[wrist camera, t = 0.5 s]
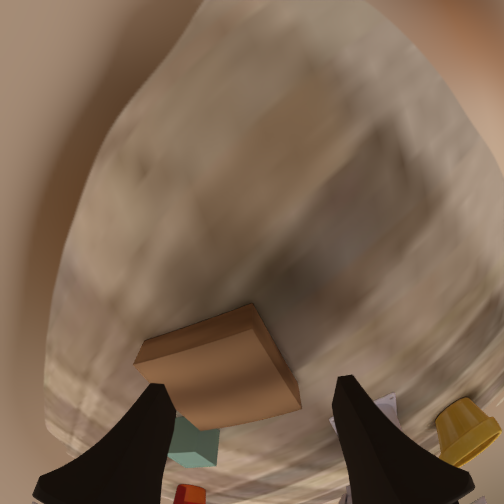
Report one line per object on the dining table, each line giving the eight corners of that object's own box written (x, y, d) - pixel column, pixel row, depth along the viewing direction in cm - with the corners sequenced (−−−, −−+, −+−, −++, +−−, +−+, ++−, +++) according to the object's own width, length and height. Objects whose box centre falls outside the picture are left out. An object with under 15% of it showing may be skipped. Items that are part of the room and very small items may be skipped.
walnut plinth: (298, 383, 23) (301, 408, 20) (204, 407, 24) (200, 430, 21) (252, 303, 19) (252, 328, 16) (144, 340, 21) (133, 364, 18)
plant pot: (469, 410, 29) (490, 447, 20) (421, 437, 30) (438, 480, 21) (483, 377, 25) (511, 420, 16) (429, 410, 27) (453, 461, 18)
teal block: (219, 430, 26) (216, 466, 22) (191, 434, 27) (185, 467, 22) (201, 413, 25) (195, 451, 20) (171, 418, 25) (163, 453, 21)
